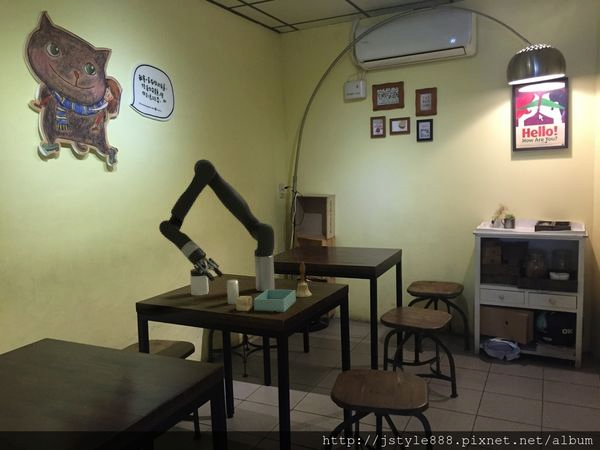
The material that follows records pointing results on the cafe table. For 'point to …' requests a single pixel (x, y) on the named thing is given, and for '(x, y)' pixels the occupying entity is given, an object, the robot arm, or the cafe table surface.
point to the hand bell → (302, 284)
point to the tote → (274, 300)
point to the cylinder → (232, 291)
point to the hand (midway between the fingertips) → (217, 277)
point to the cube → (244, 303)
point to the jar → (198, 283)
